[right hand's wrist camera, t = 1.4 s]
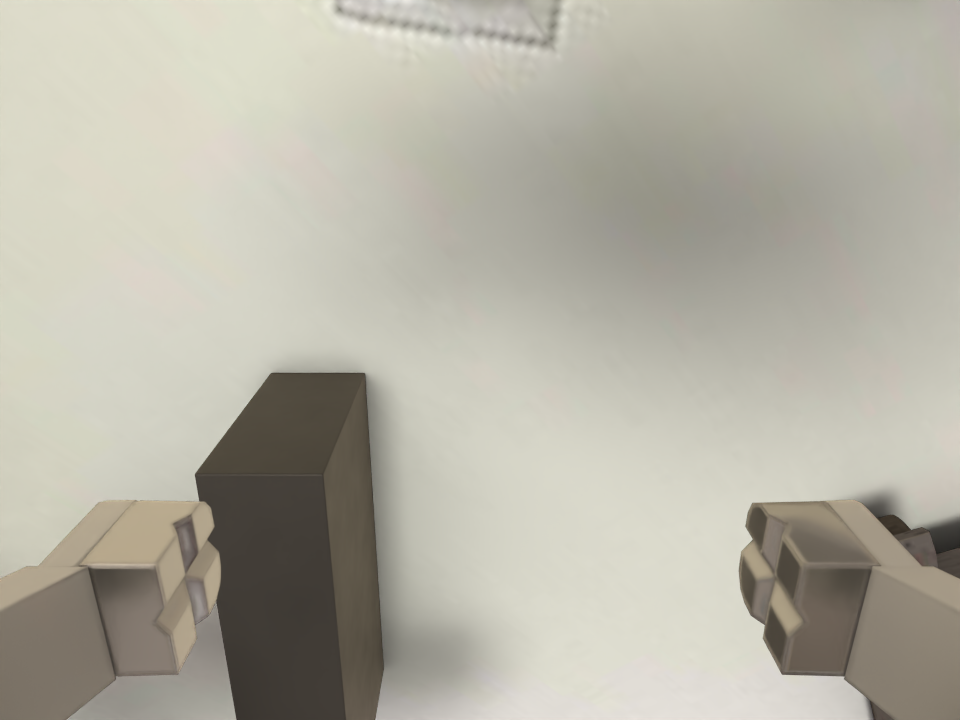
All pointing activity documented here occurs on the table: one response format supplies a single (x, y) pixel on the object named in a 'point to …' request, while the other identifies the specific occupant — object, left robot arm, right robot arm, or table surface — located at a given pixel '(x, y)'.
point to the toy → (924, 552)
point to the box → (298, 551)
